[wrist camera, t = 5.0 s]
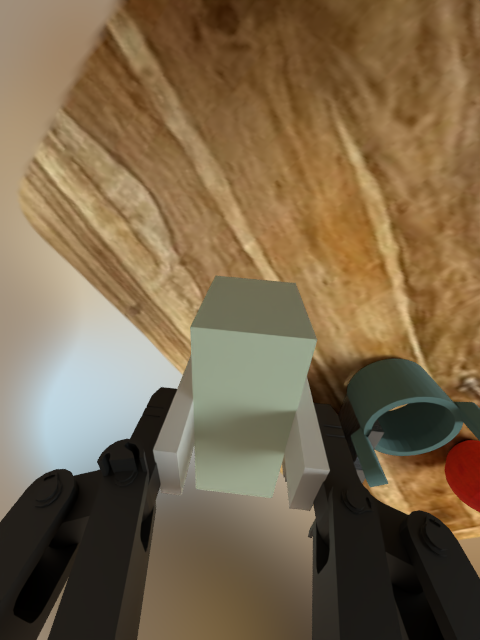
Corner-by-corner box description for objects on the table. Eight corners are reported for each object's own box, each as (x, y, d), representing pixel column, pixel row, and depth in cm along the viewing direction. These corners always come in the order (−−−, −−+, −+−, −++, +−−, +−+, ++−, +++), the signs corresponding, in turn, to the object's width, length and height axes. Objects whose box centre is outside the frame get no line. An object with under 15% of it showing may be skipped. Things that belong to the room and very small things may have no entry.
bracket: (331, 403, 28) (358, 487, 20) (378, 345, 24) (436, 423, 16) (397, 424, 29) (447, 511, 21) (454, 371, 24) (545, 457, 17)
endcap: (291, 380, 27) (301, 431, 21) (360, 386, 27) (388, 440, 21) (279, 431, 32) (284, 485, 26) (338, 437, 32) (356, 492, 26)
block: (215, 275, 12) (190, 326, 7) (295, 283, 12) (317, 339, 7) (212, 410, 17) (195, 488, 12) (268, 416, 17) (271, 497, 12)
